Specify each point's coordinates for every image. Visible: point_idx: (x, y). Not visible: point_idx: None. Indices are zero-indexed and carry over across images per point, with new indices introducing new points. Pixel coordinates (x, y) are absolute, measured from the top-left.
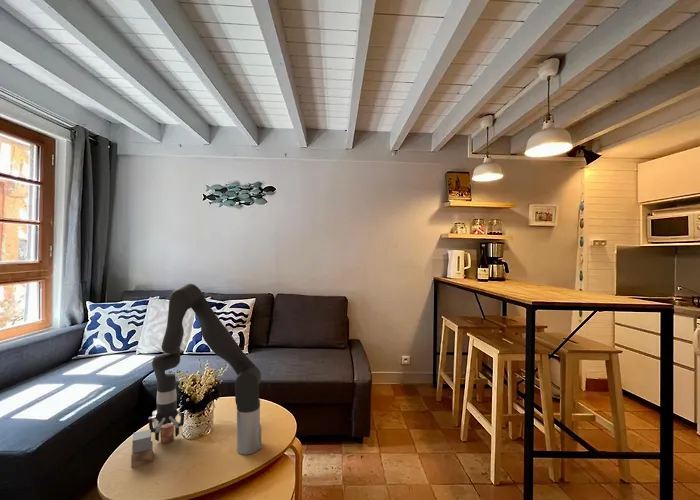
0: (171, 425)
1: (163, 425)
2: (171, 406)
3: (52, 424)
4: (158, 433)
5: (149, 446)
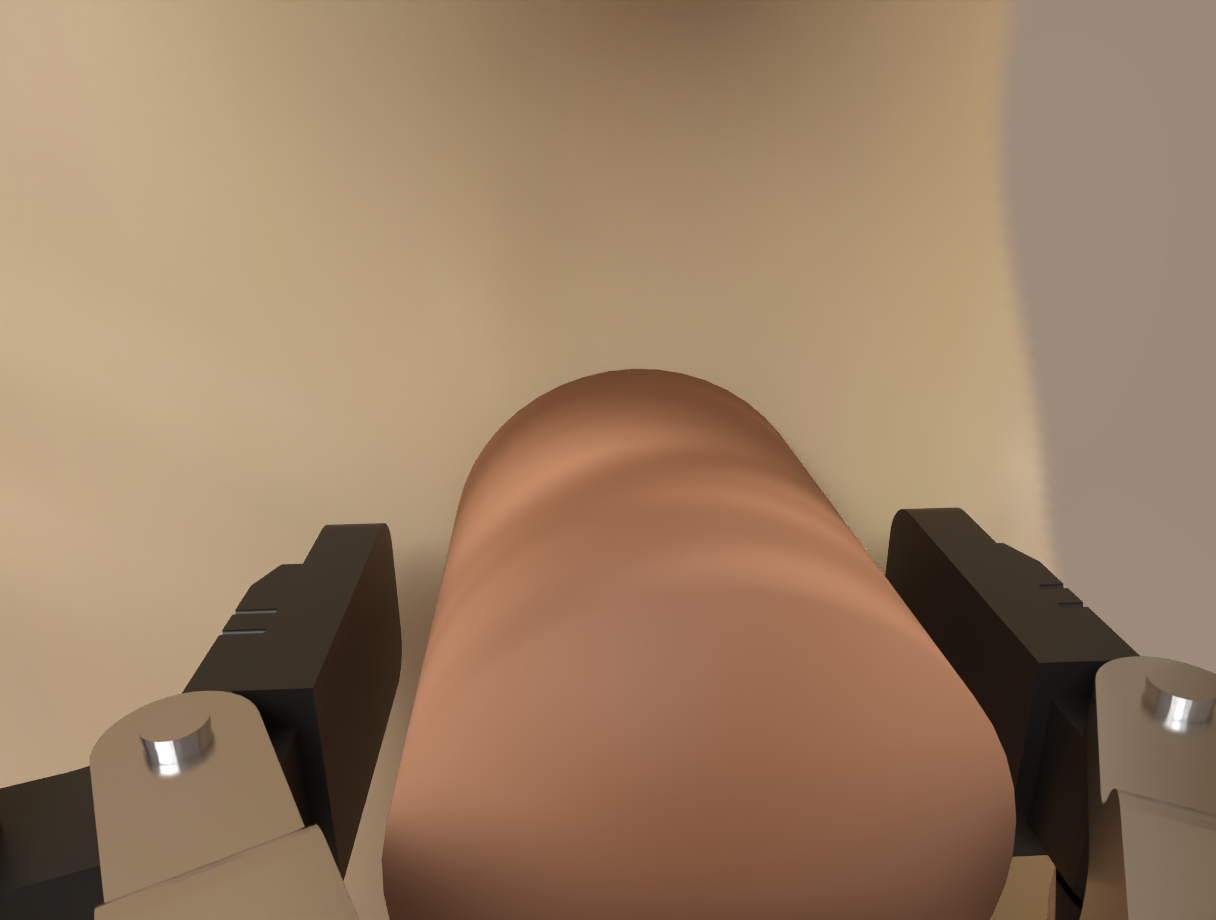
0: (911, 826)
1: (522, 688)
2: None
3: None
4: (336, 864)
5: None
